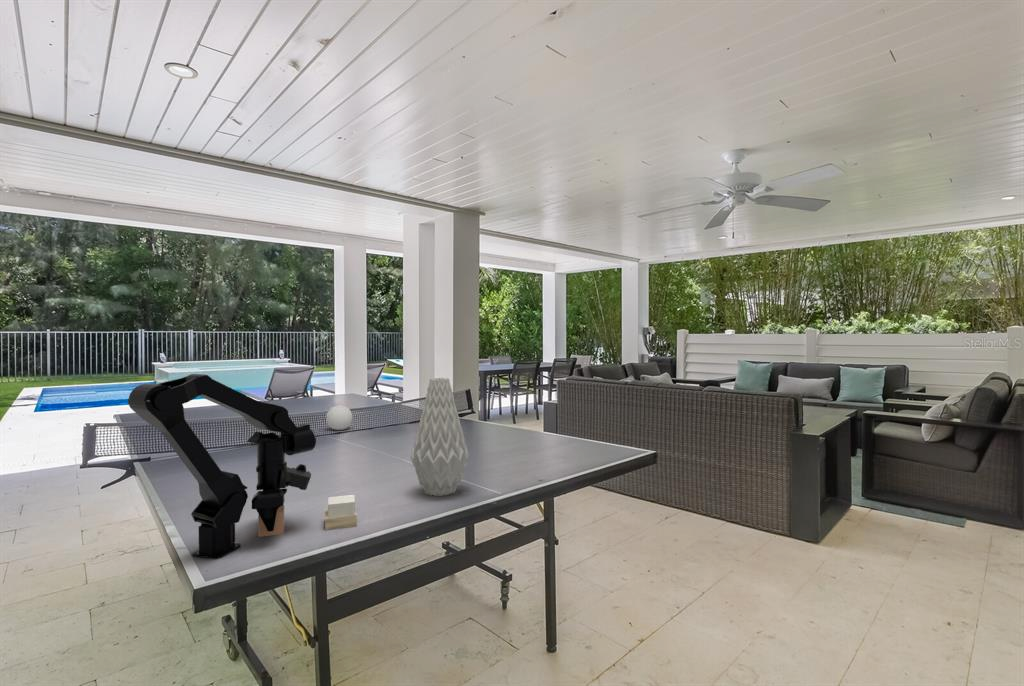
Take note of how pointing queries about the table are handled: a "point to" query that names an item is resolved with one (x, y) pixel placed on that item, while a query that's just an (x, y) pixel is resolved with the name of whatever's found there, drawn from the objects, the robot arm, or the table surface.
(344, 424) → the decorative ball
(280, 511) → the terracotta cube
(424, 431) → the vase
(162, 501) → the table surface
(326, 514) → the tower base block
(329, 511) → the tower top block
